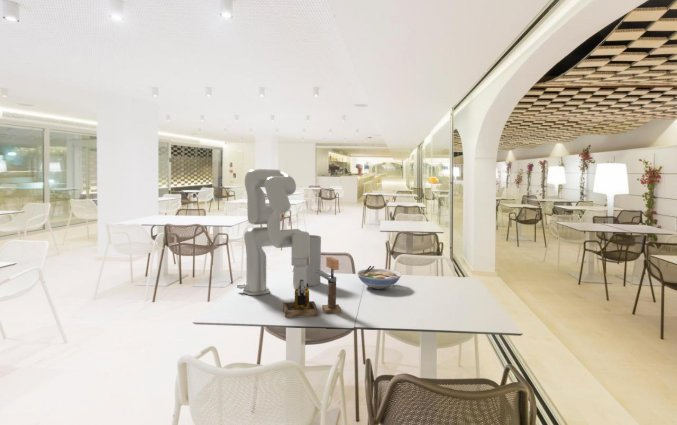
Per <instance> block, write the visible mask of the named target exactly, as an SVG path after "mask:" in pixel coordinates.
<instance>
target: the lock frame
mask: <svg viewBox="0 0 677 425" xmlns="http://www.w3.org/2000/svg"><path fill="white" fill-rule="evenodd" d="M315 302H316V301H314V300H313V301H311V300H309V310H291V309H292V308H293V307H295V301H286V302H282V303H283V304H282V310H283V314H285V315H284V318H285V317H286V318H291V317H290V316H307V317H318V315H319V312H318V311H319V310H318V307H317V305H316V303H315ZM321 309H322V311H323V312H324V314H325V313H326V314H341V313H342V308H341V307H340V304H337V281H336V282H334V283H330V282H328V281H327V304H322V305H321Z"/></svg>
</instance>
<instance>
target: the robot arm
mask: <svg viewBox="0 0 677 425" xmlns="http://www.w3.org/2000/svg"><path fill="white" fill-rule="evenodd" d="M244 187H245V190H246V195H247V196H246V198H247V199H246V200H247V205H246V206H247V208H246V209H247V211H246V212H247V215H246V216H247V222H248V223H249V224H250V225H254V226H255V225H267V226H259V227H257V226H255V227H251V228H250V227H249V228H248V229H247V230H246V231H245V232H244V235H243V236H244V237H243V238H244V244H245V253H246V254H245V255H246V258H245V259H246V260H245V261H246V264H245V265H246V270H245V271H246V281H245V283H238V284H236V288H237V289H239V290H242V289H243V291H242V292H243V294H244V295H249V296H261V295H266V294H269V293H270V288H269V287H267V254H266V252H265V251H264V249H263V248H264V247H272V246H273V248H274V247H275V248H277V249H282V248H284V249H285V248H291V252H290V253H291V260H290V261H291V263H290V264H291V266H293V270H292V271H293V272H292V273H293V274H292V276H293V277H292V286H293V289H294V291H295V290H296V289H298V305H305V298H306V295H305V289H306V286H307V266H308V265H310V235H311V234H310V233H309V232H308V231H304V230H303V231H302V230H301V229H298V228H292V229H290V228H288V229H281V215H283V214H285V213H287V212H288V211H289V210H290V209H291V202H290V199H289V197H288V195H293V194H295V193H296V189H297V183H296V181H295V179H294V178H293V177H292V176H291V175H289V174H287V173H286V172H284V171H283V170H280V169H267V168H266V169H265V168H263V169H262V168H256V169H250V170H249V171H247V172H246V174H245V177H244ZM262 188H264V189H265V192H266V194H265V192H264V190H263V189H262ZM266 196H267V199H268V202H269V204H267V203H266Z"/></svg>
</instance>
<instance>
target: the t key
mask: <svg viewBox="0 0 677 425" xmlns="http://www.w3.org/2000/svg"><path fill="white" fill-rule="evenodd" d="M325 258H326V267H327V268H329V269H330V273H327V272H324V271H323V270H319V269H316V270H314V273H316V274H318V275H320V278H323V279H325V280H327V283H328V282H330V283H334V282H336V283H337V276H335V275H334V273H335V272H334V271H339V265H340V264H339V262H340V261H339V259H337V258H335V257H332V256H327V257H325Z"/></svg>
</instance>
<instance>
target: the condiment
mask: <svg viewBox="0 0 677 425" xmlns="http://www.w3.org/2000/svg"><path fill="white" fill-rule="evenodd" d="M305 295H306V298H305V305H298V289H296V290H295V289H294V302H295V307H293V308H292V309H290V310H309V309H310V308H309V301H310V290H309V286H308V283H307V286H306V289H305Z"/></svg>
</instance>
